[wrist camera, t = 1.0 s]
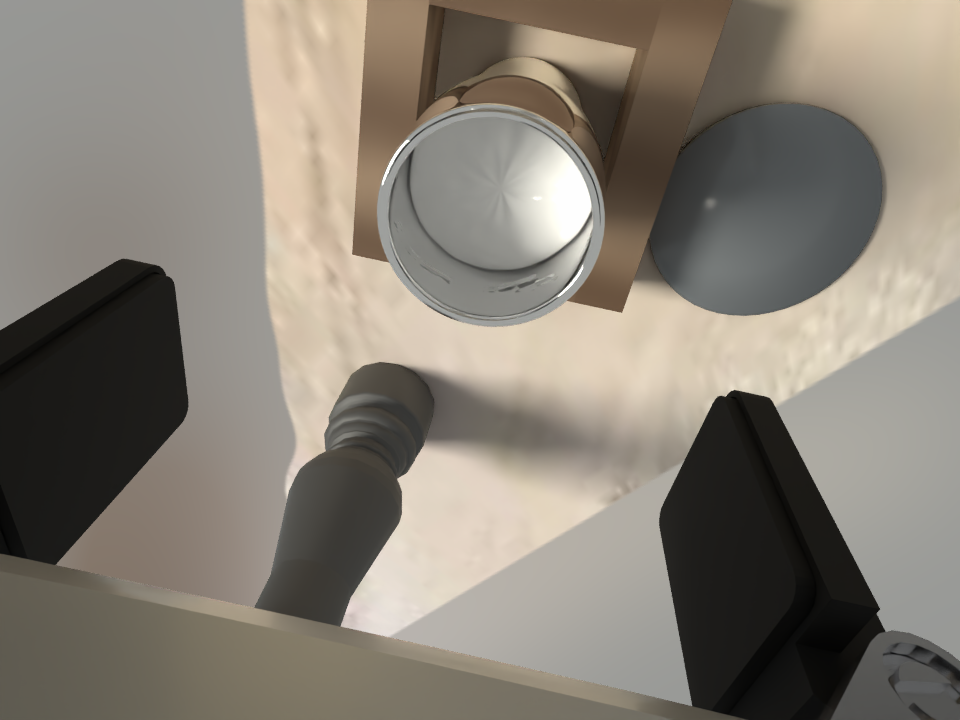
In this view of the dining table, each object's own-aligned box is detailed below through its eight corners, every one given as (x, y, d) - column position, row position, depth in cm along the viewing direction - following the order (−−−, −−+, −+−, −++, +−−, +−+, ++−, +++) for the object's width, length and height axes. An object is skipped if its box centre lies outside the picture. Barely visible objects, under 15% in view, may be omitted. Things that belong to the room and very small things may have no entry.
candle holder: (402, 348, 37) (194, 811, 16) (451, 419, 40) (325, 897, 19) (326, 381, 39) (57, 828, 18) (377, 447, 42) (192, 902, 21)
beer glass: (618, 142, 29) (658, 259, 17) (504, 218, 32) (465, 368, 19) (541, 11, 27) (520, 32, 14) (424, 107, 29) (319, 196, 17)
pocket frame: (397, -76, 25) (372, -86, 22) (713, -10, 25) (735, -9, 22) (373, 227, 33) (352, 254, 30) (616, 279, 33) (621, 312, 30)
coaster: (694, 80, 27) (695, 81, 27) (926, 129, 27) (930, 131, 27) (621, 289, 33) (622, 292, 33) (812, 330, 33) (814, 333, 33)
